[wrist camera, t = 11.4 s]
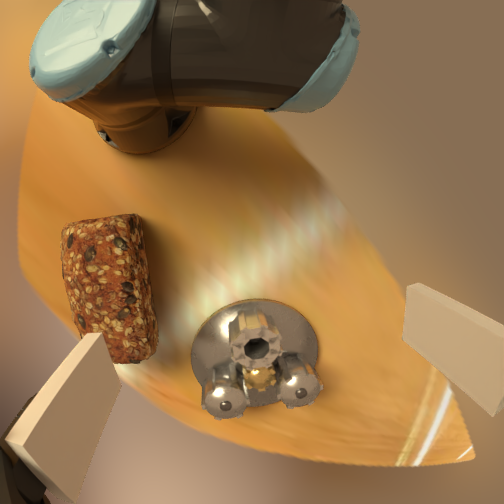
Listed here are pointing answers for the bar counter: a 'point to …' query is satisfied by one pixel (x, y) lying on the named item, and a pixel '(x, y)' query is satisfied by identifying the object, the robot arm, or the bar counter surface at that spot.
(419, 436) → the bar counter surface
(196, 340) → the carrier
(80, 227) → the bread
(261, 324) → the planet gear
